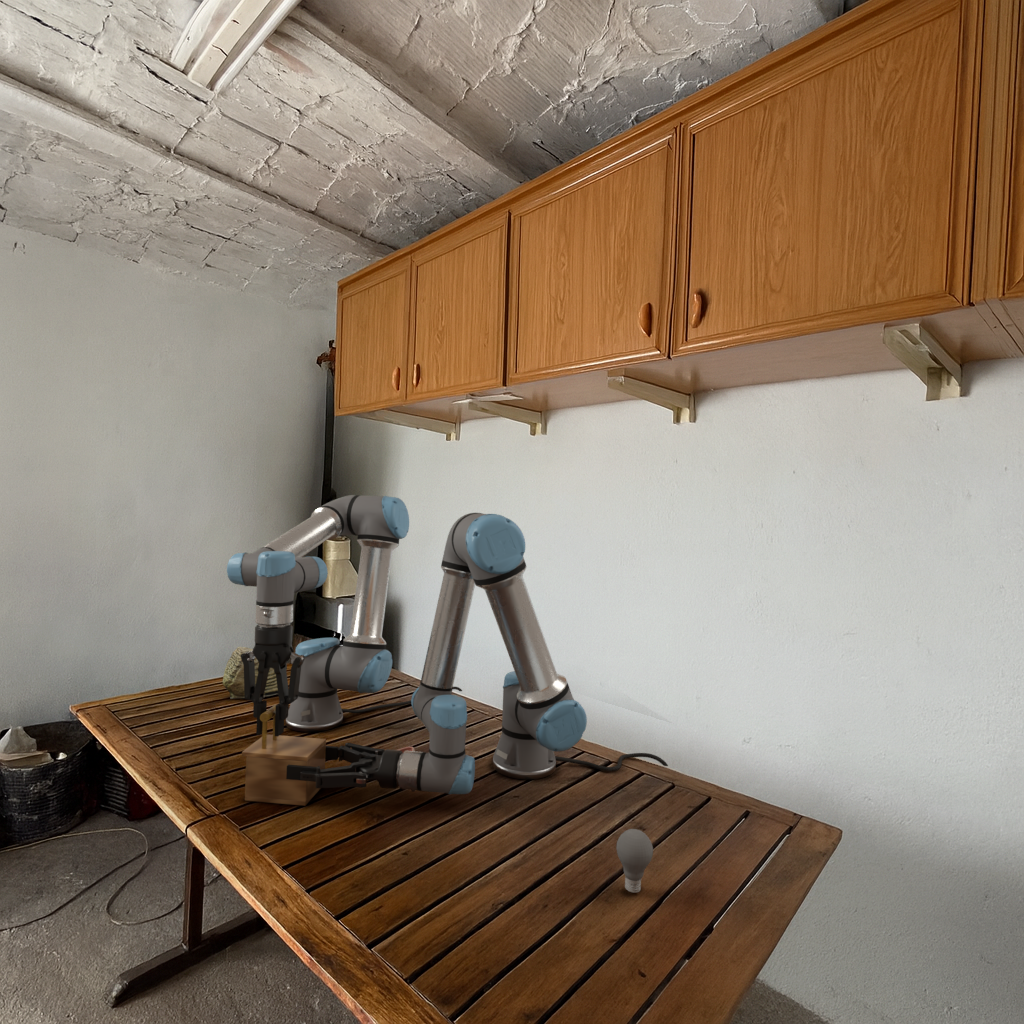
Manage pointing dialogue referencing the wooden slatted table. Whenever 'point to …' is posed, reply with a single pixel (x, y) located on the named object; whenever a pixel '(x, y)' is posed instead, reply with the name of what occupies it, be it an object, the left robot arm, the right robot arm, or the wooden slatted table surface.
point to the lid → (282, 743)
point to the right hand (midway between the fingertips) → (298, 761)
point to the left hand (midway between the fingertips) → (270, 733)
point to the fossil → (235, 676)
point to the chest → (280, 780)
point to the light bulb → (634, 857)
